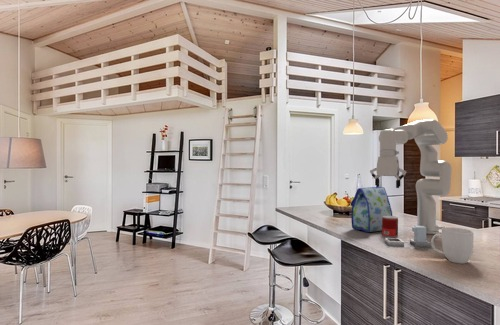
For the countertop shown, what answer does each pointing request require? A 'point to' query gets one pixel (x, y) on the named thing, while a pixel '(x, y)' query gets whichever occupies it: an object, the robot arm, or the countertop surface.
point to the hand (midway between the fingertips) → (387, 187)
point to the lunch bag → (370, 208)
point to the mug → (455, 244)
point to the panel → (406, 244)
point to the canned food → (390, 225)
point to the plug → (419, 233)
